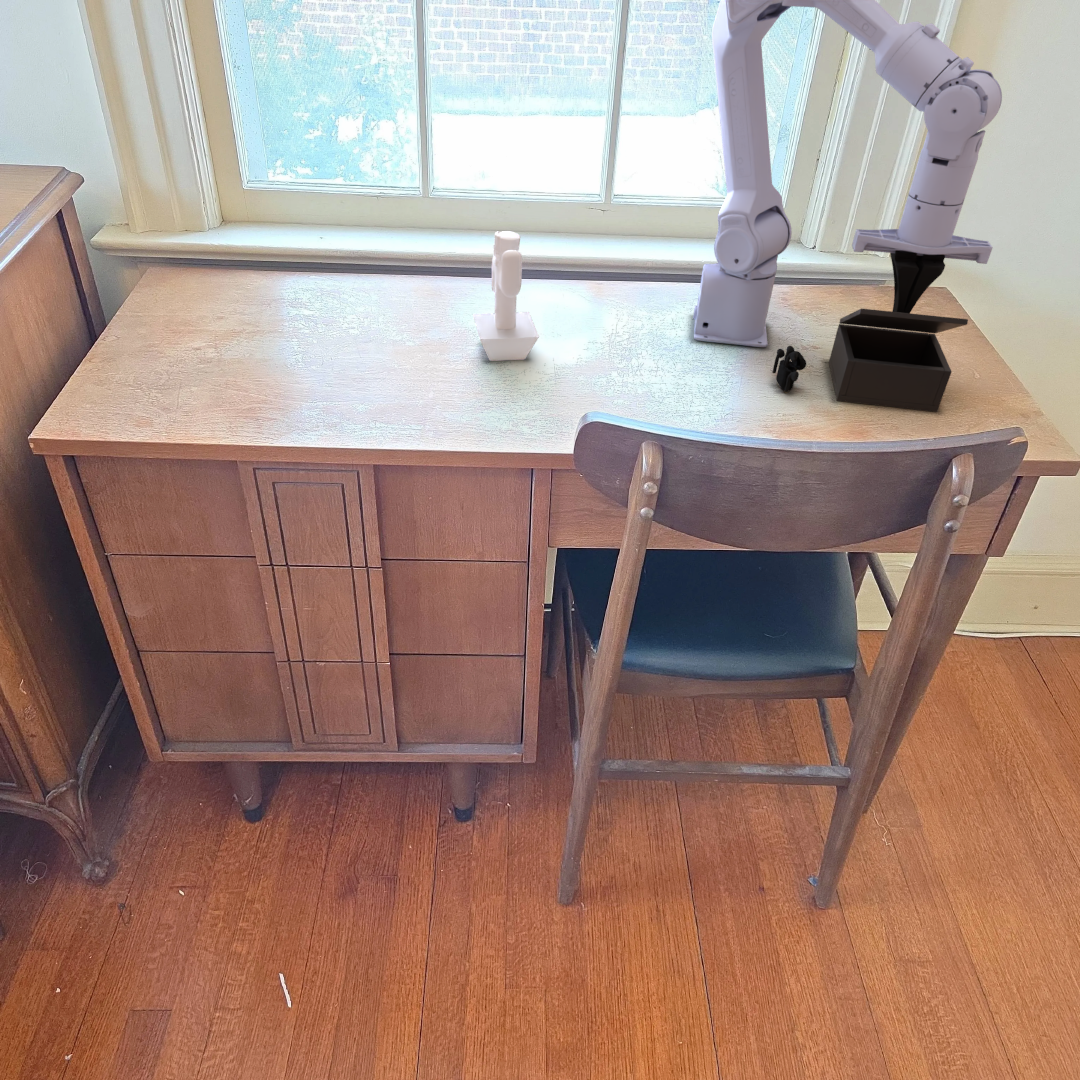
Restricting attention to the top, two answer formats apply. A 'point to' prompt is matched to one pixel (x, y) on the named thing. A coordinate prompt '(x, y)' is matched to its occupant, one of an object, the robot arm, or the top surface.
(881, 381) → the case
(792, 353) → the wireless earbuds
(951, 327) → the case lid
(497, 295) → the figurine
